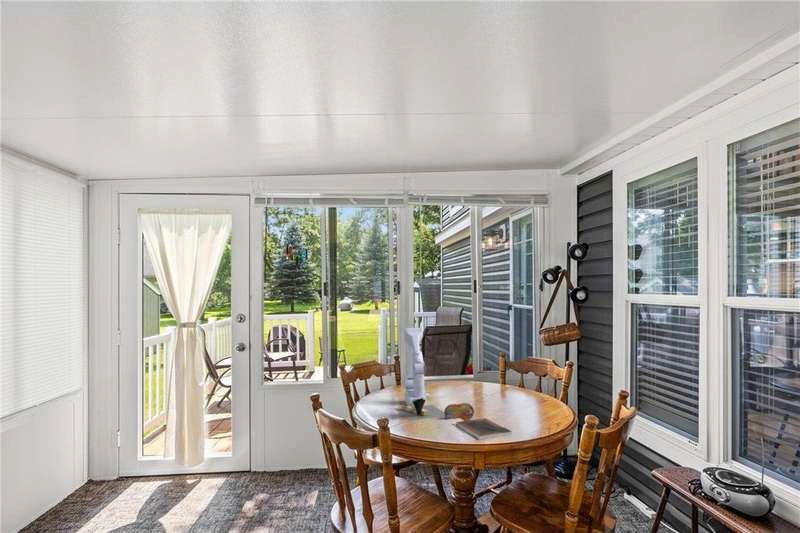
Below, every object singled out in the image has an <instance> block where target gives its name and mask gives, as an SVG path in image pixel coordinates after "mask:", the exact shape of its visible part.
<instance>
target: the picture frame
mask: <svg viewBox="0 0 800 533" xmlns="http://www.w3.org/2000/svg"><path fill="white" fill-rule="evenodd" d="M455 426H456V427H458V428H459V429H462V430H463V431H464V432H466V433H468V434H469V433H470V435H471V436H473V437H474V436H475V437H474V438H476V439H477V440H479V441H480V439H482V440H488V438H489V439H495V438H500V437H501V436H502V437H507V436H508V437H509V436H512V430H510V429H508V428H506V427H503V426H502V425H500V424H497V423H496V422H493V421H492V420H490V419H487V418H486V417H485V418H477V419H476V418H475V419H470V420H468V421H464V420H462V421H461V420H460V421H456V423H455ZM502 437H501V438H502Z"/></svg>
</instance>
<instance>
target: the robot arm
mask: <svg viewBox="0 0 800 533" xmlns="http://www.w3.org/2000/svg"><path fill="white" fill-rule="evenodd" d="M403 332H404V333H403V334H404V335H403V336H404V337H403V338H404V342H406V343H407V344H408V372H407V373H406V374H405V375H403V377H404V378H403V388H404V390H405V391H404V403H408V405H410V406H415V409H416V413H417V414H418V415H421V412H422V408H423V406H425V403H426V399H427V398H430V393H427V392H426V393H425V375H426V364H425V361H424V356H423V352H422V351H421V350H420V347H421V346H420V343H421V342H422V339H423V337H424V331H423V328H422V327H405V328H404V330H403Z"/></svg>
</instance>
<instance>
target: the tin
mask: <svg viewBox="0 0 800 533" xmlns="http://www.w3.org/2000/svg"><path fill="white" fill-rule="evenodd" d="M443 412H444V414H445V417H444V418H445V419H446V420H451V419H453V420H455V419H461V420H462V421H468V420H472V418H473V416H474V414H475V410H474V407H473V406H472V405H471V404H470V403H468V402H467V403H466V402H460V403H451V404H447V406H445V408H444V410H443Z"/></svg>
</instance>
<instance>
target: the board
mask: <svg viewBox="0 0 800 533" xmlns="http://www.w3.org/2000/svg"><path fill="white" fill-rule="evenodd" d="M422 409H424V410H428V415H425V416H423V415H418V414H416V413H413V412H410V411H406V410H402V407H399V408H394V410H395V411H396V412H398V413H399V414H400V415H402V416H403V417H404V418H405V419H406V420H408V421H417V420H426V419H433V418H434V419H435V418H443V417H444V418H446V417H445V414H444V410H442V409H440V408H438V407H437V406H435V405H434V404H428V405H426V404H425V405H423V408H422Z"/></svg>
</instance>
